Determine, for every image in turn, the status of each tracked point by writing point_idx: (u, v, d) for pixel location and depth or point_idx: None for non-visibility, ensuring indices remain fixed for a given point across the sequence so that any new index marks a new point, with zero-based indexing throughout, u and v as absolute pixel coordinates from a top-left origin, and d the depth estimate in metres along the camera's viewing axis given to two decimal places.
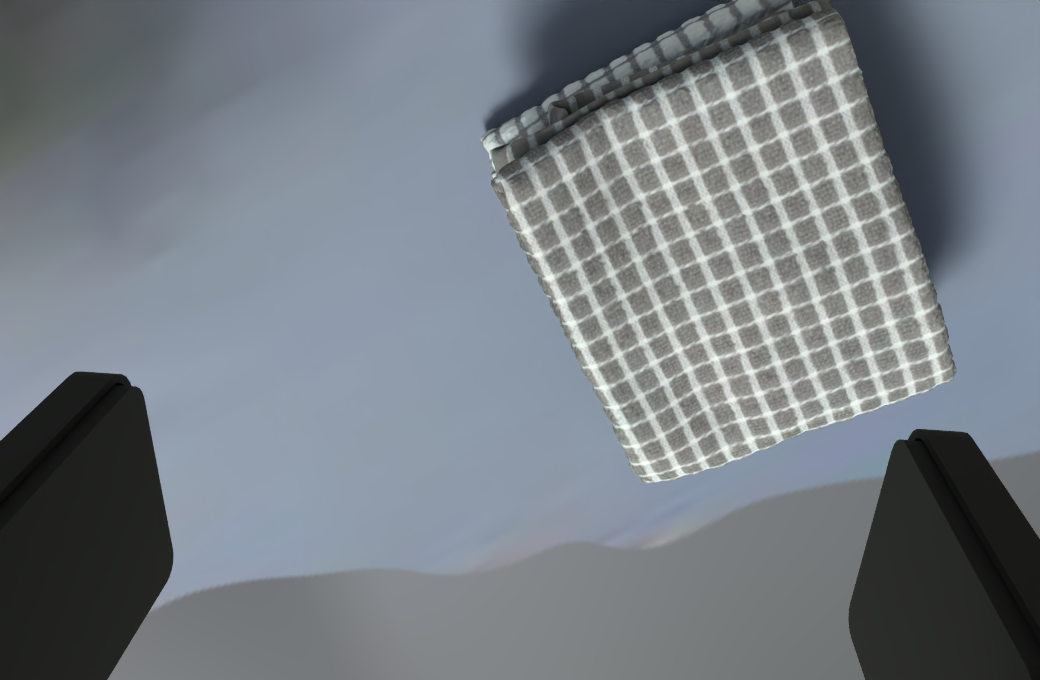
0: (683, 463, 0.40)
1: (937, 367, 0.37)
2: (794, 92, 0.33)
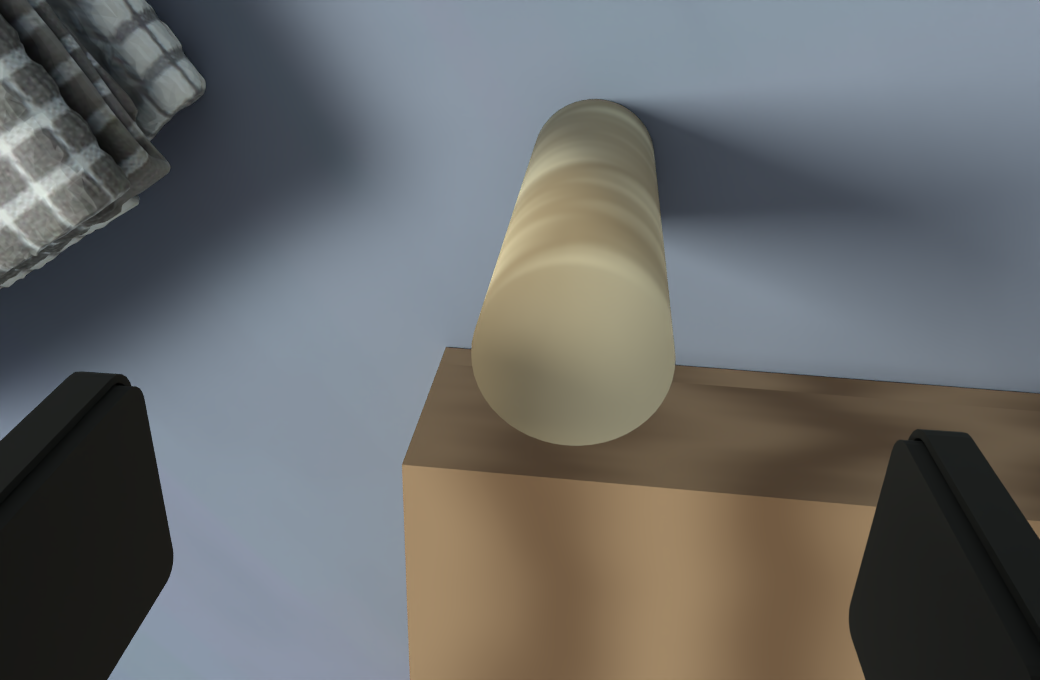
0: None
1: None
2: None
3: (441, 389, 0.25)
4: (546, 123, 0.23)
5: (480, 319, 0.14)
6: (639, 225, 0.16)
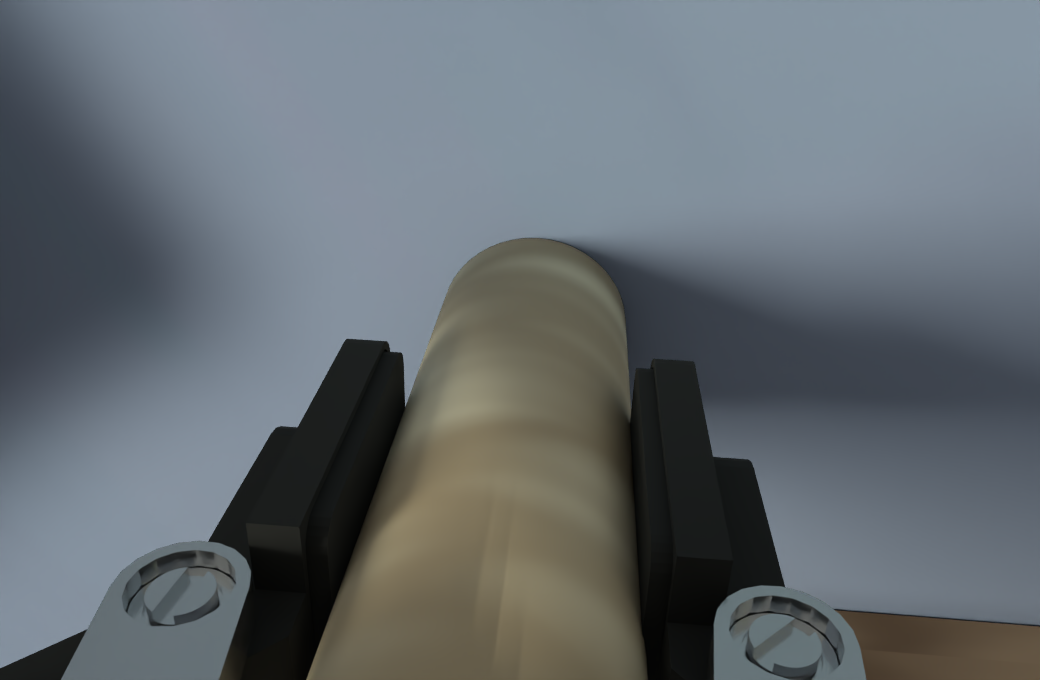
0: None
1: None
2: None
3: None
4: (458, 274, 0.15)
5: None
6: (591, 616, 0.08)
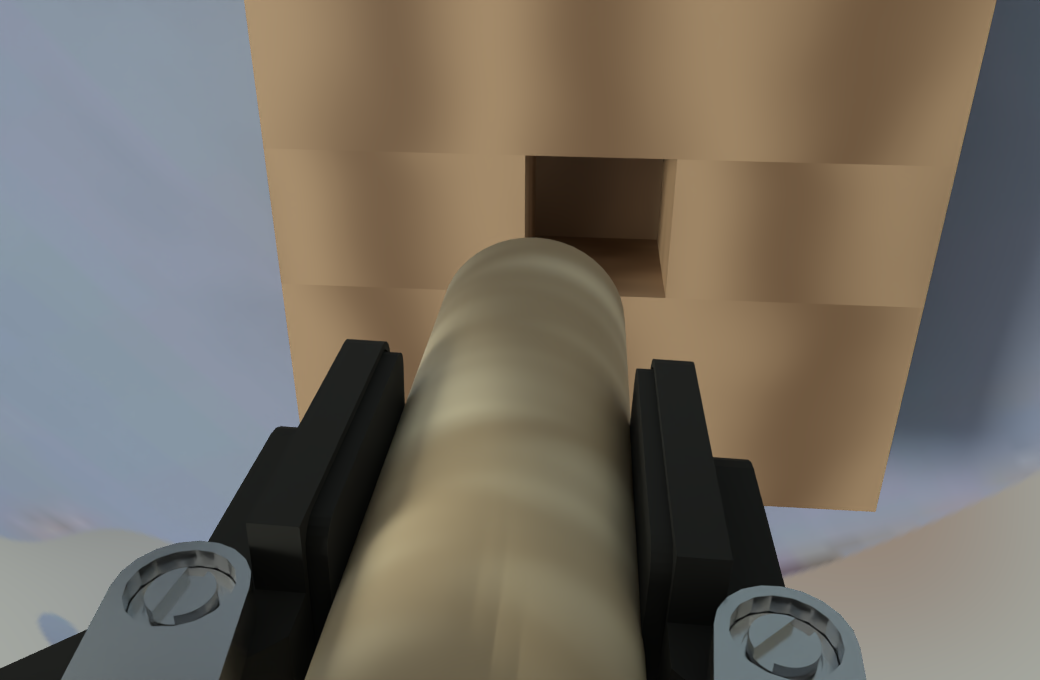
0: None
1: None
2: None
3: None
4: (458, 274, 0.15)
5: None
6: (590, 615, 0.08)
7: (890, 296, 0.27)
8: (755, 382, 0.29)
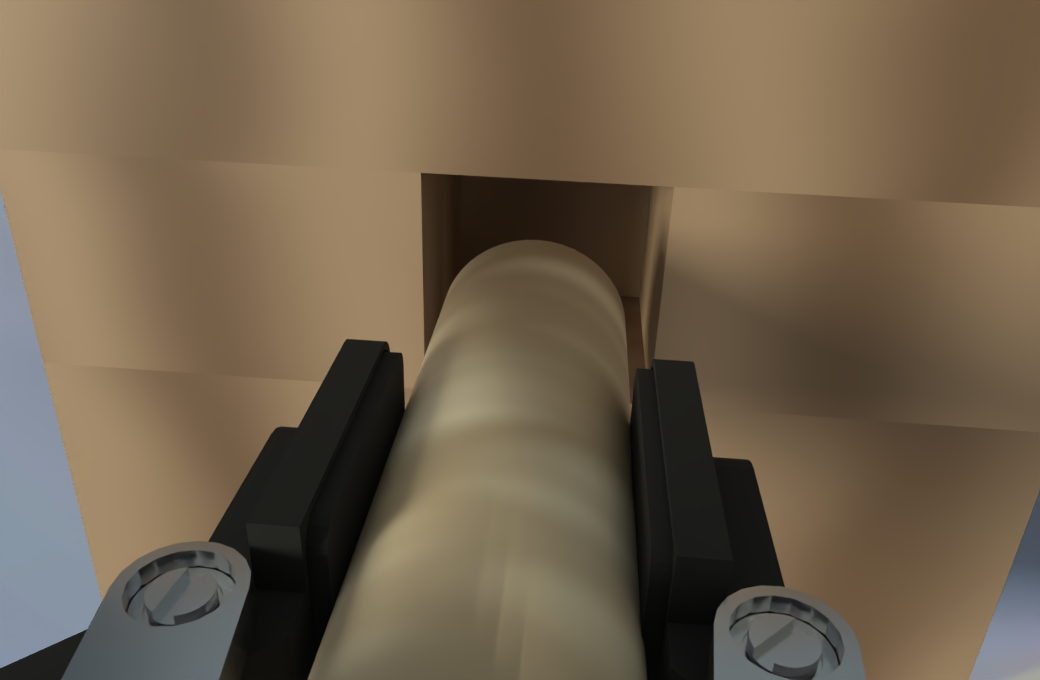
0: None
1: None
2: None
3: None
4: (458, 276, 0.15)
5: None
6: (591, 619, 0.08)
7: (1009, 415, 0.17)
8: (784, 533, 0.19)
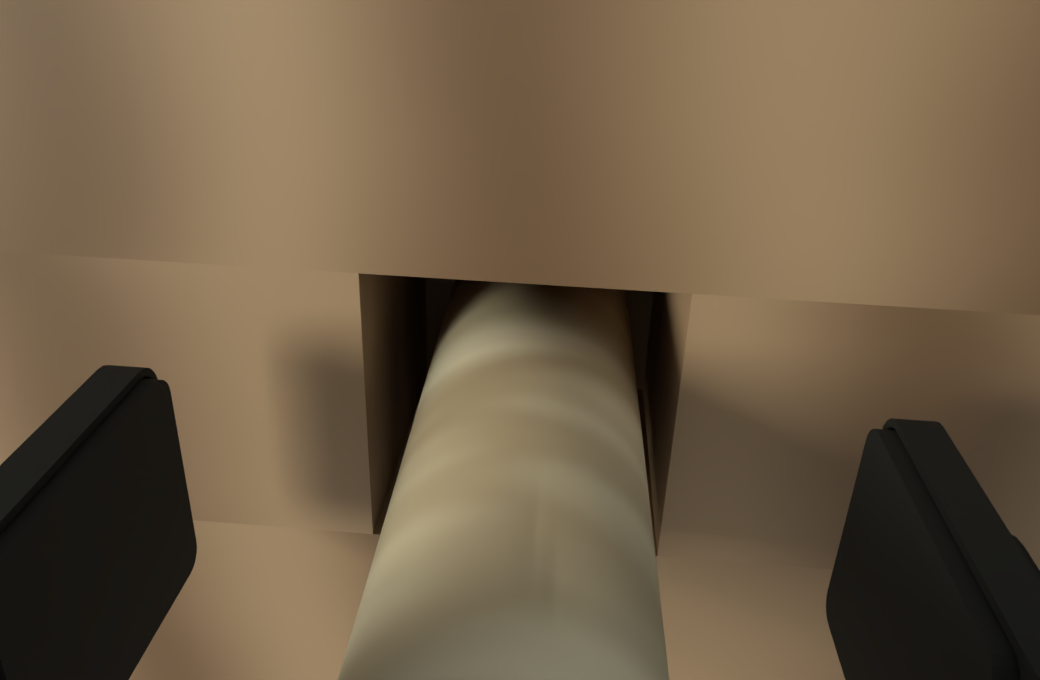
0: None
1: None
2: None
3: None
4: None
5: None
6: (611, 505, 0.09)
7: None
8: None
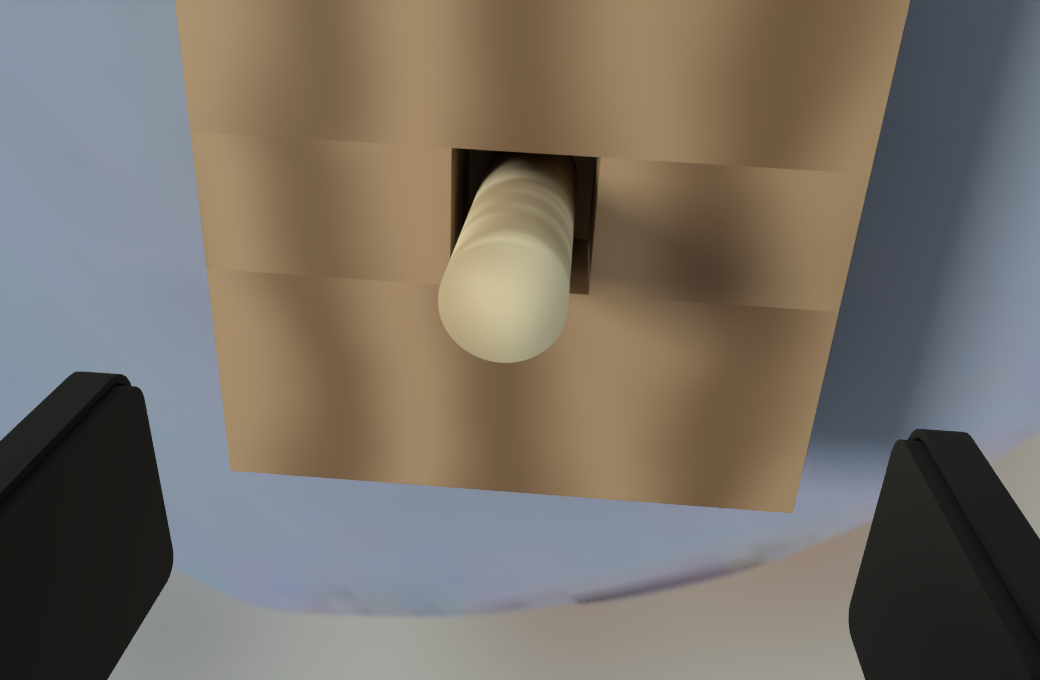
0: None
1: None
2: None
3: None
4: None
5: (443, 277, 0.22)
6: (550, 220, 0.24)
7: (806, 300, 0.28)
8: (675, 382, 0.29)
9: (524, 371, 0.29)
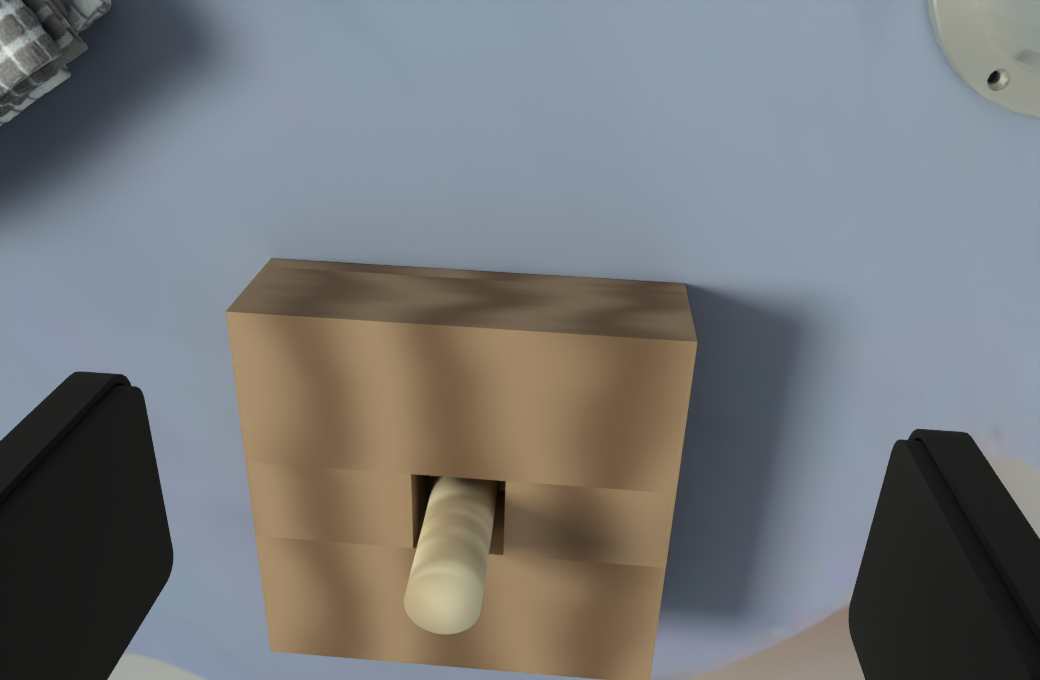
0: None
1: None
2: None
3: (260, 278, 0.41)
4: None
5: (406, 592, 0.37)
6: (473, 537, 0.39)
7: (644, 560, 0.43)
8: (564, 605, 0.44)
9: None
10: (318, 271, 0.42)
